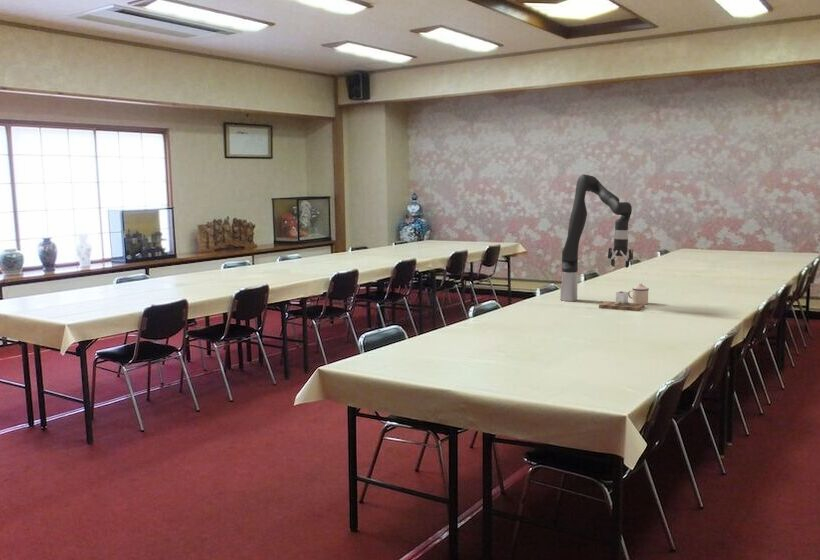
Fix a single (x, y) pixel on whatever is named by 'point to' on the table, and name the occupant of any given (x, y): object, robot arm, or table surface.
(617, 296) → the white block
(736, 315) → the table surface
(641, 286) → the teacup with lid
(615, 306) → the walnut base
